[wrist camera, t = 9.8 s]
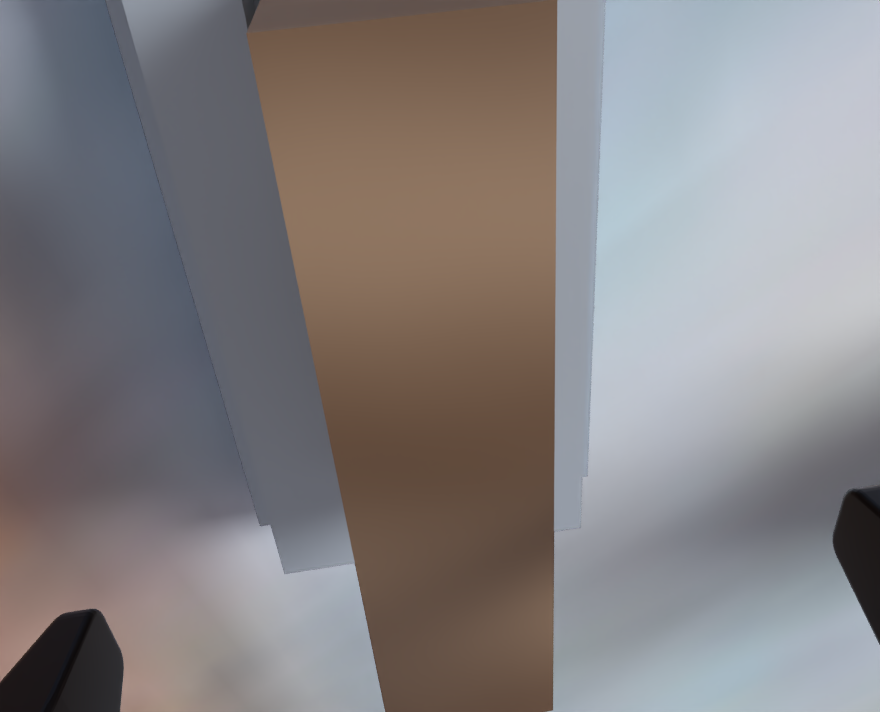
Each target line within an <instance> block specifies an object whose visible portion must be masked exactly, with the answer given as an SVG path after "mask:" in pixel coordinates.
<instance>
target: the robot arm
mask: <svg viewBox="0 0 880 712" xmlns="http://www.w3.org/2000/svg"><path fill="white" fill-rule="evenodd" d="M833 546H834V550H835V553H836V556H837V558H838V560H839V562H840V564H841V566H842V568H843V570H844V572H845V574H846V576H847V579H848V581H849V583H850V585H851V587H852V589H853V591H854V593H855V595H856V597H857V599H858V601H859V603H860V605H861V607H862V609H863V611H864V614H865V616H866V618H867V620H868V622H869V624H870V626H871V628H872V630H873V632H874V634H875V636H876V638H877V640H878V642H879V644H880V485H871V486H865V487H858V488H853V489H850V490H849V491H848V492H847V493H846V494H845V495H844V498H843V501H842V505H841V508H840V511H839V515H838V518H837V522H836V525H835V529H834V532H833ZM123 671H124V665H123V657H122V653H121V650H120V648H119V646H118V644H117V642H116V640H115V638H114V636H113V634H112V632H111V630H110V628H109V626H108V624H107V622H106V620H105V618H104V616H103V614H102V613H101V612H100V611H99V610H97V609H87V610H80V611H74V612H68V613H64V614H62V615H60V616H59V617H57V618H56V619H55V620H54V621H53V622H52V623H51V624H50V626H49V627H48V628H47V629H46V630H45V631H44V632H43V634H42V635H41V636H40V637H39V638H38V639H37V640H36V642H35V643H34V644H33V645H32V646H31V647H30V649H29V650H28V651H27V652H26V653H25V654H24V655H23V657H22V658H21V659H20V660H19V661H18V662H17V663H16V665H15V666H14V667H13V668H12V669H11V670H10V672H9V673H8V674H7V675H6V676H5V677H4V678H3V680H2V681H1V682H0V712H120V705H121V694H122V683H123Z"/></svg>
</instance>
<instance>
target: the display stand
mask: <svg viewBox="0 0 880 712" xmlns="http://www.w3.org/2000/svg"><path fill="white" fill-rule="evenodd" d="M105 2H106V5H107V8H108V12H109V15H110V18H111V22H112V25H113V29H114V32H115V35H116V39H117V42H118V46H119V49H120V52H121V56H122V59H123V63H124V66H125V69H126V73H127V76H128V80H129V83H130V86H131V90H132V93H133V96H134V100H135V103H136V107H137V110H138V113H139V117H140V120H141V124H142V127H143V130H144V134H145V137H146V141H147V144H148V147H149V151H150V154H151V158H152V161H153V164H154V168H155V171H156V175H157V178H158V181H159V185H160V188H161V191H162V195H163V198H164V202H165V205H166V208H167V212H168V215H169V219H170V222H171V225H172V229H173V232H174V236H175V239H176V242H177V246H178V249H179V253H180V256H181V259H182V263H183V266H184V270H185V273H186V276H187V280H188V283H189V286H190V290H191V293H192V297H193V300H194V303H195V307H196V310H197V314H198V317H199V320H200V324H201V327H202V331H203V334H204V337H205V341H206V344H207V348H208V351H209V354H210V358H211V361H212V365H213V368H214V371H215V375H216V378H217V381H218V385H219V388H220V392H221V395H222V398H223V402H224V405H225V409H226V412H227V415H228V419H229V422H230V426H231V429H232V432H233V436H234V439H235V443H236V446H237V449H238V453H239V456H240V459H241V463H242V466H243V470H244V473H245V476H246V480H247V483H248V487H249V490H250V493H251V497H252V500H253V504H254V507H255V510H256V514H257V517H258V521H259V524H260V526H264V525H271V528H272V532H273V535H274V539H275V542H276V546H277V549H278V553H279V556H280V560H281V563H282V567H283V570H284V574H289V573H295V572H301V571H308V570H314V569H320V568H327V567H333V566H340V565H346V564H352V563H355V561H354V557H353V552H352V547H351V542H350V537H349V532H348V527H347V522H346V518H345V513H344V508H343V503H342V498H341V493H340V488H339V483H338V478H337V474H336V469H335V464H334V459H333V454H332V449H331V444H330V439H329V435H328V430H327V425H326V420H325V415H324V410H323V405H322V400H321V396H320V391H319V386H318V381H317V376H316V371H315V366H314V361H313V357H312V352H311V347H310V342H309V337H308V332H307V327H306V322H305V317H304V313H303V308H302V303H301V298H300V293H299V288H298V283H297V278H296V274H295V269H294V264H293V259H292V254H291V249H290V244H289V239H288V235H287V230H286V225H285V220H284V215H283V210H282V205H281V200H280V196H279V191H278V186H277V181H276V176H275V171H274V166H273V161H272V156H271V152H270V147H269V142H268V137H267V132H266V127H265V122H264V117H263V113H262V108H261V103H260V98H259V93H258V88H257V83H256V78H255V74H254V69H253V64H252V59H251V54H250V49H249V44H248V39H247V35H246V33H247V30H248V28H249V26H250V23H251V21H252V18H253V16H254V14H255V11H256V9H257V7H258V4H259V2H260V0H105ZM605 3H606V0H557V141H556V297H555V452H554V532H556V531H562V530H569V529H575V528H581V502H582V477H586V476H588V450H589V424H590V397H591V371H592V345H593V319H594V292H595V266H596V240H597V213H598V187H599V161H600V134H601V108H602V82H603V55H604V29H605Z"/></svg>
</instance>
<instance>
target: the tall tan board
mask: <svg viewBox="0 0 880 712" xmlns="http://www.w3.org/2000/svg"><path fill="white" fill-rule="evenodd" d="M246 35H247V39H248V44H249V49H250V54H251V59H252V64H253V69H254V74H255V78H256V83H257V88H258V93H259V98H260V103H261V108H262V113H263V117H264V122H265V127H266V132H267V137H268V142H269V147H270V152H271V156H272V161H273V166H274V171H275V176H276V181H277V186H278V191H279V196H280V200H281V205H282V210H283V215H284V220H285V225H286V230H287V235H288V239H289V244H290V249H291V254H292V259H293V264H294V269H295V274H296V278H297V283H298V288H299V293H300V298H301V303H302V308H303V313H304V317H305V322H306V327H307V332H308V337H309V342H310V347H311V352H312V357H313V361H314V366H315V371H316V376H317V381H318V386H319V391H320V396H321V400H322V405H323V410H324V415H325V420H326V425H327V430H328V435H329V439H330V444H331V449H332V454H333V459H334V464H335V469H336V474H337V478H338V483H339V488H340V493H341V498H342V503H343V508H344V513H345V518H346V522H347V527H348V532H349V537H350V542H351V547H352V552H353V557H354V561H355V566H356V571H357V576H358V581H359V586H360V591H361V596H362V600H363V605H364V610H365V615H366V620H367V625H368V630H369V635H370V639H371V644H372V649H373V654H374V659H375V664H376V669H377V674H378V679H379V683H380V688H381V693H382V698H383V703H384V708H385V712H546V711H552V710H553V608H554V452H555V297H556V141H557V0H260V2H259V4H258V7H257V9H256V11H255V14H254V16H253V18H252V21H251V23H250V26H249V28H248V30H247V33H246Z"/></svg>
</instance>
